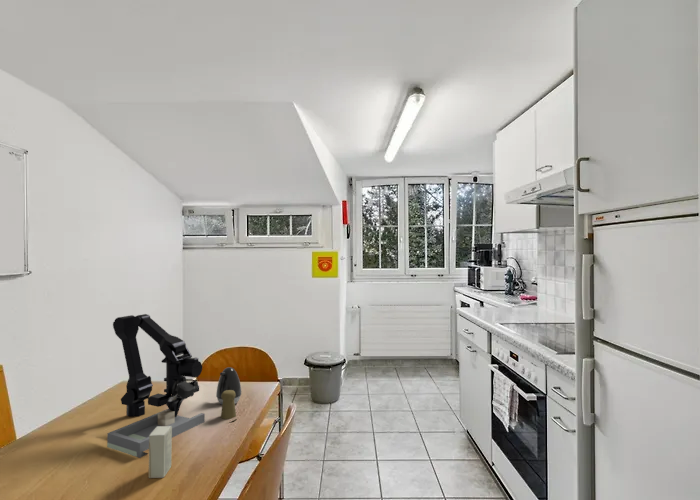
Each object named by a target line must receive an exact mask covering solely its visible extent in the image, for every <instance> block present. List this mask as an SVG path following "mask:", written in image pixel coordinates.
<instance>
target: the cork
mask: <svg viewBox="0 0 700 500" xmlns="http://www.w3.org/2000/svg"><path fill="white" fill-rule="evenodd" d="M235 396H236V394H235V391H233V390H226V391H224V392H223V393H222V395H221V398H222V400H223V404H221V411H220V412H221V413H220V418H221V419H223V420H231V419H233V418H235V419H233V420H231V421H230V422H228V424H231V423H234V422H236V421H237V418H236V417H237V412H236V404H235V403H234V399H235Z"/></svg>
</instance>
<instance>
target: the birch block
mask: <svg viewBox="0 0 700 500" xmlns="http://www.w3.org/2000/svg"><path fill="white" fill-rule="evenodd" d="M162 411H163V412H162ZM162 411H159V412H160V413H159V412H157V413H158V425H161V426H168V425H170V424H172V423H175V411H171V410H167V409H165V411H164V410H162Z"/></svg>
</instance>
